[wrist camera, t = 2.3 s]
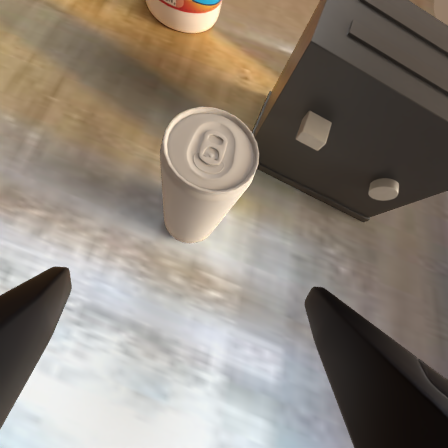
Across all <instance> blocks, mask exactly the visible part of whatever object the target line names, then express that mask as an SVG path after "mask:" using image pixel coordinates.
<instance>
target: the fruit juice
mask: <svg viewBox="0 0 448 448" xmlns="http://www.w3.org/2000/svg"><path fill="white" fill-rule="evenodd" d="M145 1H146V4H147V6H148V8H149V10H150V12H151V13H152V14H153V15H154V17H155V18H156V19H158V20H159V21H160V22H161V23H163V24H164V25H166V26H168V27H170V28H172V29H174V30H177V31H180V32H185V33H200V32H204V31H206V30H208V29H210V28H211V27H212V26H213V25H214V24H215V22H216V20H217V18H218V15H219V12H220V8H221V2H222V0H145Z"/></svg>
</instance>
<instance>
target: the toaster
mask: <svg viewBox="0 0 448 448" xmlns="http://www.w3.org/2000/svg"><path fill="white" fill-rule="evenodd" d="M252 134H253V136H254V138H255V140H256V142H257V146H258V151H259V162H258V166H257V169H259V170H261V171H263V172H265V173H267V174H269V175H271V176H273V177H275V178H277V179H279V180H281V181H283V182H285V183H287V184H289V185H291V186H293V187H295V188H297V189H299V190H301V191H303V192H305V193H307V194H309V195H311V196H313V197H315V198H317V199H319V200H321V201H323V202H325V203H327V204H329V205H331V206H333V207H335V208H337V209H339V210H341V211H343V212H345V213H347V214H349V215H351V216H353V217H355V218H357V219H359V220H361V221H363V222H365V221H368V220H369V219H370V217H372V216H375V215H378V214H381V213H384V212H387V211H390V210H393V209H395V208H398V207H401V206H404V205H407V204H410V203H413V202H416V201H419V200H422V199H425V198H428V197H430V196H433V195H436V194H439V193H442V192H445V191H448V26H447V25H446V24H444V23H443V22H441V21H440V20H438V19H437V18H435V17H434V16H432V15H430V14H429V13H427V12H426V11H424V10H423V9H421V8H420V7H418V6H417V5H415V4H413V3H412V2H410V1H409V0H320V2H319V4H318V6H317V8H316V9H315V11H314V13H313V15H312V17H311V19H310V21H309V23H308V24H307V26H306V28H305V30H304V32H303V34H302V36H301V38H300V39H299V41H298V43H297V45H296V47H295V49H294V51H293V53H292V54H291V56H290V58H289V60H288V62H287V64H286V66H285V68H284V70H283V71H282V73H281V75H280V77H279V79H278V81H277V83H276V85H275V86H274V88H273V90H272V91H270V92H269V94H268V96H267V98H266V101H265V103H264V105H263V107H262V110H261V112H260V114H259V117H258V119H257V121H256V124H255V126H254V128H253V130H252Z"/></svg>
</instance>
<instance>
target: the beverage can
mask: <svg viewBox="0 0 448 448" xmlns="http://www.w3.org/2000/svg"><path fill="white" fill-rule="evenodd" d="M160 161H161V178H162V194H163V211H164V223H165V226H166V229H167V230H168V232H169V233H170V235H171V236H173V237H174V238H175V239H176V240H179V241H181V242H184V243H197V242H200V241H202V240H204V239H205V238H207V237H208V236H209V235H210V234H211V233H212V231H213V230H214V229H215V228H216V226H217V225H218V224H219V223H220V221H221V220H222V219H223V218H224V216H225V215H226V214H227V213H228V211H229V210H230V209H231V208H232V206H233V205H234V204H235V203H236V201H237V200H238V199H239V198H240V196H241V195H242V194H243V193H244V191H245V190H246V189H247V188H248V186H249V185H250V184H251V182H252V179H253V177H254V174H255V171H256V169H257V166H258V162H259V151H258V146H257V142H256V140H255V138H254V136H253V134H252V132H251V131H250V129H249V128H248V127H247V126H246V124H245V123H243V122H242V121H241V120H240V119H239V118H237V117H236V116H234V115H232V114H231V113H229V112H227V111H225V110H221V109H218V108H214V107H196V108H190V109H188V110H186V111H183V112H181V113H179V114H178V115H177V116H176V117H175V118H174V119H172V120H171V121H170V123H169V125H168V126H167V128H166V130H165V133H164V137H163V140H162V144H161V149H160Z"/></svg>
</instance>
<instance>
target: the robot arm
mask: <svg viewBox="0 0 448 448" xmlns="http://www.w3.org/2000/svg"><path fill="white" fill-rule="evenodd" d="M71 287H72V286H71V278H70V271H69V269H68V268H66V267H52V268H50V269H48V270H46V271H44V272H42V273H41V274H39V275H37V276H35V277H33V278H32V279H30V280H28V281H26V282H24V283H22V284H21V285H19V286H17V287H15V288H13V289H11V290H10V291H8V292H6V293H4V294H2V295H0V429H1V427H2V425H3V423H4V422H5V420H6V418H7V416H8V414H9V413H10V411H11V409H12V407H13V406H14V404H15V402H16V400H17V398H18V397H19V395H20V393H21V391H22V389H23V388H24V386H25V384H26V382H27V380H28V379H29V377H30V375H31V373H32V371H33V370H34V368H35V366H36V364H37V363H38V361H39V359H40V357H41V355H42V354H43V352H44V350H45V348H46V346H47V345H48V343H49V341H50V339H51V337H52V335H53V332H54V330H55V328H56V325H57V323H58V321H59V318H60V316H61V314H62V311H63V309H64V307H65V304H66V302H67V299H68V297H69V295H70V292H71ZM305 309H306V312H307V316H308V320H309V323H310V327H311V331H312V334H313V338H314V341H315V344H316V347H317V350H318V353H319V355H320V358H321V361H322V363H323V366H324V369H325V371H326V374H327V376H328V379H329V382H330V384H331V387H332V390H333V392H334V395H335V398H336V400H337V403H338V406H339V408H340V411H341V414H342V416H343V419H344V422H345V424H346V427H347V430H348V432H349V435H350V438H351V440H352V443H353V445H354V448H448V380H447V379H446V378H444V377H443V376H442V375H440V374H439V373H437V372H436V371H435V370H433V369H432V368H431V367H429V366H428V365H427V364H425V363H424V362H423V361H421V360H420V359H417V357H416V356H414V355H413V354H412V353H410V352H409V351H408V350H406V349H405V348H404V347H402V346H401V345H400V344H398V343H397V342H396V341H394V340H393V339H392V338H390V337H389V336H388V335H386V334H385V333H384V332H382V331H381V330H380V329H378V328H377V327H376V326H374V325H373V324H372V323H370V322H369V321H367V320H366V319H365V318H363V317H362V316H361V315H359V314H358V313H357V312H355V311H354V310H353V309H351V308H350V307H349V306H347V305H346V304H345V303H343V302H342V301H341V300H339V299H338V298H337V297H335V296H334V295H333V294H331V293H330V292H329V291H327V290H326V289H325V288H322V287H313V288H312V289H311V290H310V292H309V294H308V296H307V298H306V300H305Z"/></svg>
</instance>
